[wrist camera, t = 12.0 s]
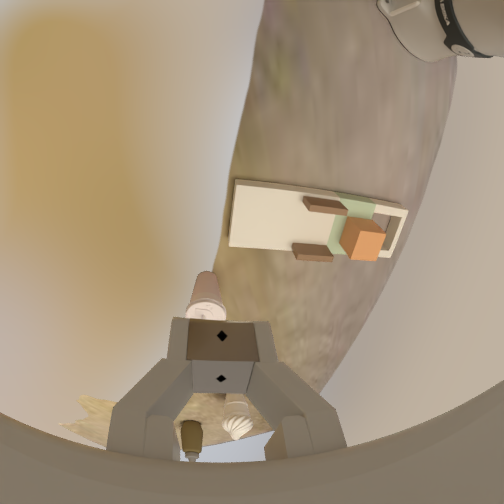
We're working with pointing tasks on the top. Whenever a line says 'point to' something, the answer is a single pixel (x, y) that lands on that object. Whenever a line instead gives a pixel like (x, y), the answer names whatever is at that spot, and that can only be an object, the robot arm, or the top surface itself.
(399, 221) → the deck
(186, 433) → the squeeze bottle
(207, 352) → the robot arm
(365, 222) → the block
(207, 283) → the smoothie
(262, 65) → the top surface
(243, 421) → the soft serve ice cream cone
